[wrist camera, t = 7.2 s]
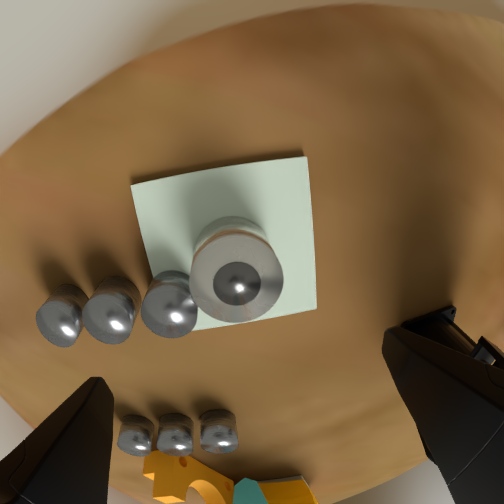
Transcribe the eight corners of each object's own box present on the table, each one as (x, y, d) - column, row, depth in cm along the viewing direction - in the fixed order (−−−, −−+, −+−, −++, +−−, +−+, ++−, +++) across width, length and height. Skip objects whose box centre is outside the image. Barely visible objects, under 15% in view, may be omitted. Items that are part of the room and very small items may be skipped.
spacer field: (193, 262, 18) (190, 285, 15) (238, 426, 24) (241, 451, 21) (48, 287, 17) (28, 308, 14) (130, 432, 23) (126, 455, 21)
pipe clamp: (145, 451, 25) (140, 498, 19) (174, 445, 25) (172, 495, 19) (206, 486, 30) (208, 524, 24) (233, 480, 29) (237, 520, 23)
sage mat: (304, 156, 16) (306, 156, 16) (314, 304, 20) (316, 308, 19) (132, 184, 16) (130, 185, 15) (171, 329, 19) (171, 333, 19)
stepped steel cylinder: (264, 210, 17) (279, 231, 13) (272, 279, 18) (287, 315, 14) (187, 223, 16) (179, 248, 12) (202, 291, 18) (200, 330, 14)
